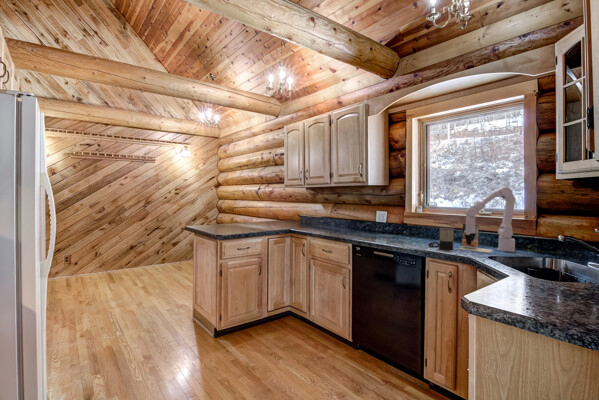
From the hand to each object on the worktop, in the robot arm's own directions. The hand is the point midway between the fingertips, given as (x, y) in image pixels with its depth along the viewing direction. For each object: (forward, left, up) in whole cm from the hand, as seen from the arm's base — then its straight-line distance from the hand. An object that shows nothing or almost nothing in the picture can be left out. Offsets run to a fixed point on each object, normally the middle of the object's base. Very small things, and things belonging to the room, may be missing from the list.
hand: (469, 244), depth 217 cm
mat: (-4, +4, -3) cm, 6 cm away
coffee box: (+4, -17, -3) cm, 18 cm away
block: (0, 0, -1) cm, 1 cm away
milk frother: (+15, +16, -3) cm, 22 cm away
